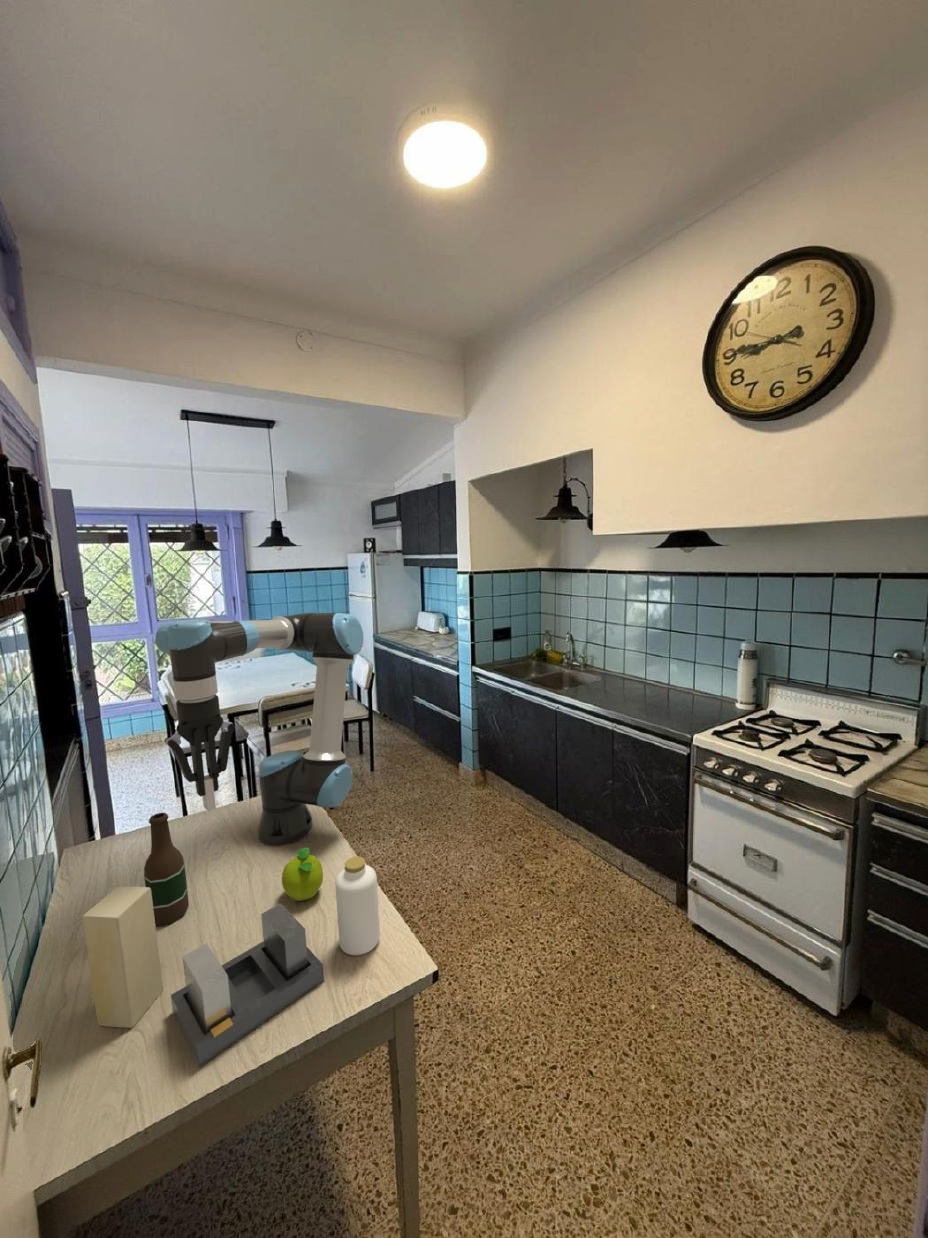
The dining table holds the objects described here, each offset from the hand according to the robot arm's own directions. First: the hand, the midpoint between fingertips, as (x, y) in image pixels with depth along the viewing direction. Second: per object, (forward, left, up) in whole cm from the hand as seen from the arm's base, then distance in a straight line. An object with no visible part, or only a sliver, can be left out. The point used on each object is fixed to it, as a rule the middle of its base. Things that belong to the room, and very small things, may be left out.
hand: (209, 807), depth 102 cm
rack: (+2, +20, -29) cm, 35 cm away
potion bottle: (-19, +24, -29) cm, 42 cm away
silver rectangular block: (+9, +20, -28) cm, 35 cm away
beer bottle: (+6, -15, -29) cm, 34 cm away
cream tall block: (+18, +6, -29) cm, 35 cm away
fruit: (-18, +2, -29) cm, 34 cm away
